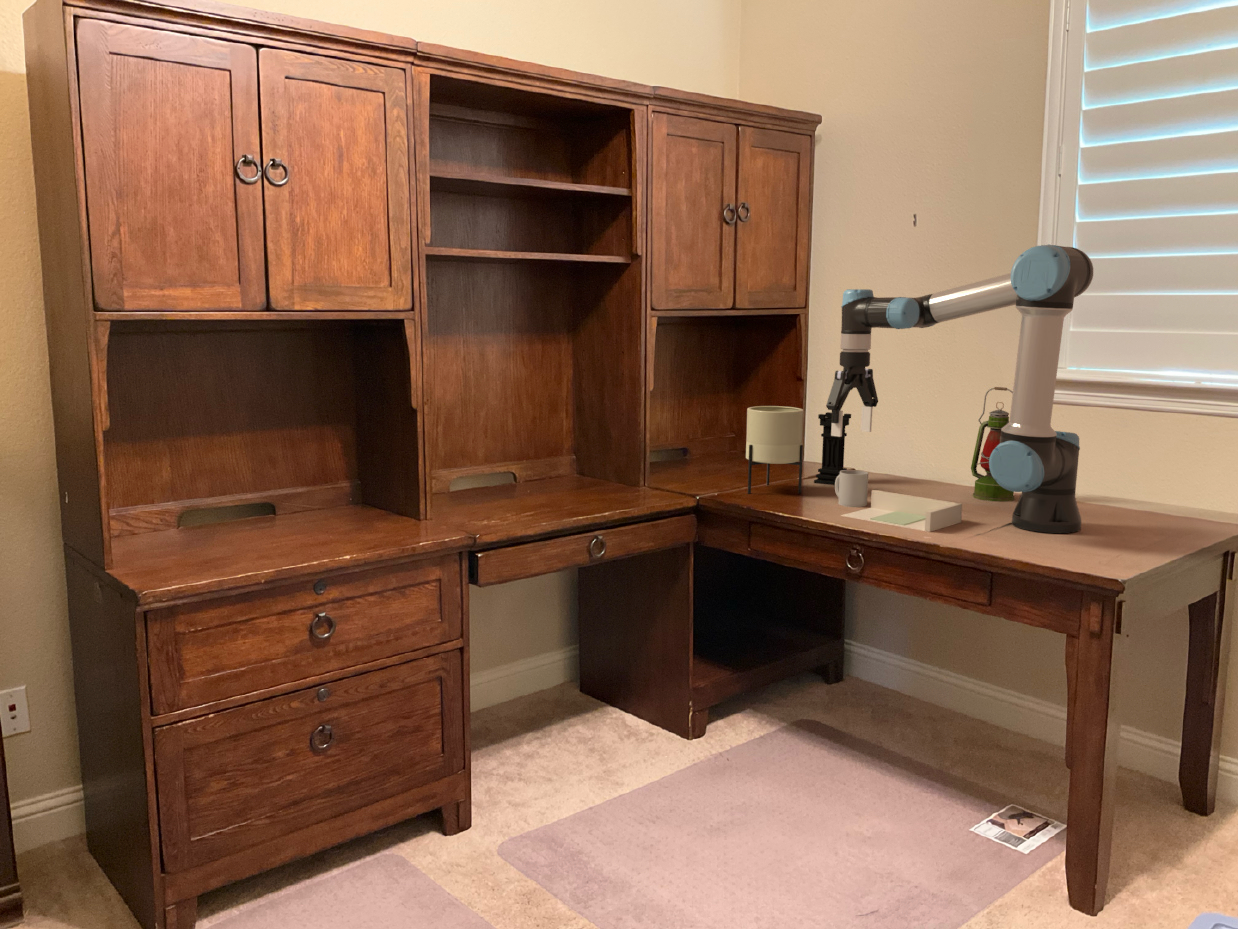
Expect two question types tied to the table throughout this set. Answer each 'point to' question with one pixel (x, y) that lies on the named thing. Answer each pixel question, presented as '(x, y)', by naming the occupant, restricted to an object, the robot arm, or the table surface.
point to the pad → (899, 518)
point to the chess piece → (831, 450)
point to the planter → (774, 438)
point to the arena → (911, 510)
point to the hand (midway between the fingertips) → (851, 433)
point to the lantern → (987, 484)
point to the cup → (852, 488)
